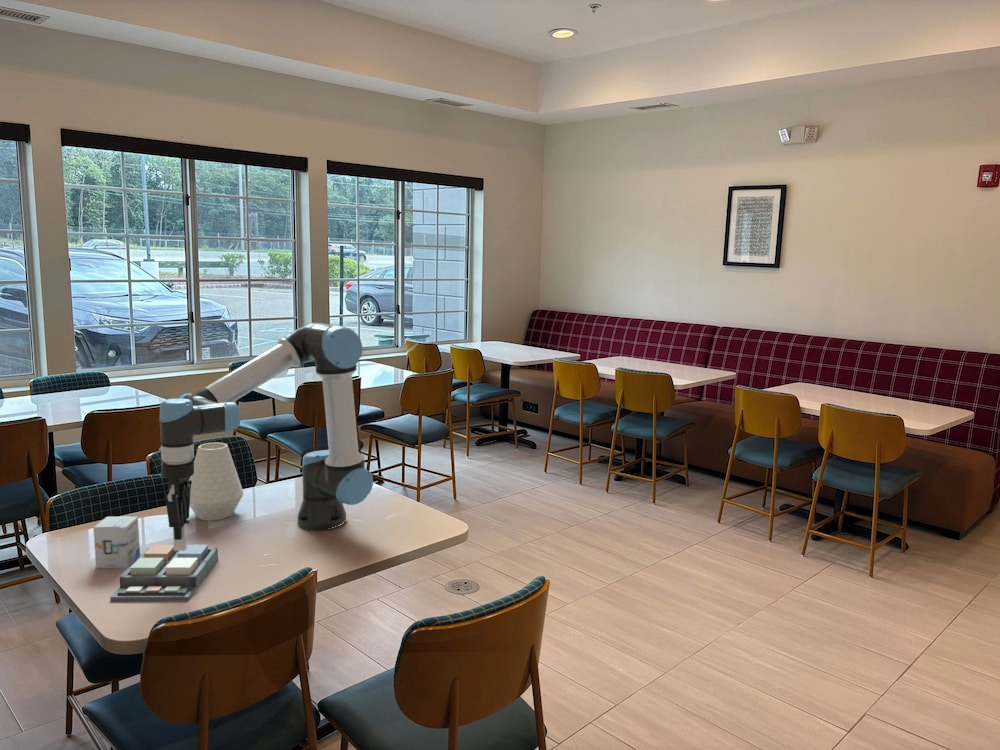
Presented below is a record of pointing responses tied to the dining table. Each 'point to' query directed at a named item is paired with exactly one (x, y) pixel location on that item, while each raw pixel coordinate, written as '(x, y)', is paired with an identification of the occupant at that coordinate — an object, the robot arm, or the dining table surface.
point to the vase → (214, 483)
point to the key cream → (182, 566)
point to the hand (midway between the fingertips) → (180, 549)
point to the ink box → (116, 542)
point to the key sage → (147, 566)
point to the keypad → (164, 582)
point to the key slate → (194, 552)
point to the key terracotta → (160, 552)
